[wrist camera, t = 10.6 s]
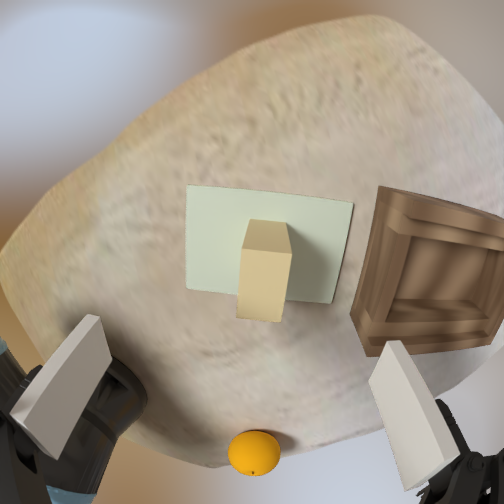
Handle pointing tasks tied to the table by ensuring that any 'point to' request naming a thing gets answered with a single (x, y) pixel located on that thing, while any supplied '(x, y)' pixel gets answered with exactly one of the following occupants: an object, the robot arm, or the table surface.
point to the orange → (254, 453)
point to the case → (429, 276)
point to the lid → (264, 247)
